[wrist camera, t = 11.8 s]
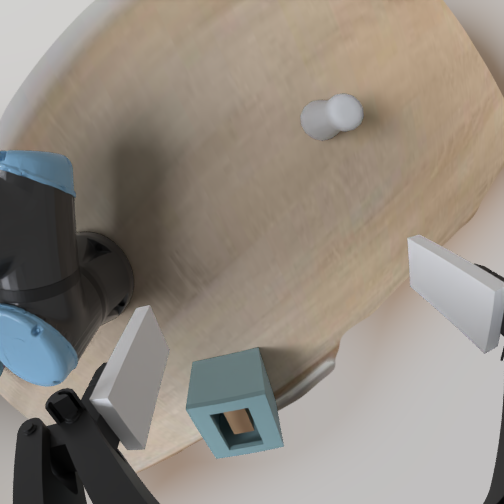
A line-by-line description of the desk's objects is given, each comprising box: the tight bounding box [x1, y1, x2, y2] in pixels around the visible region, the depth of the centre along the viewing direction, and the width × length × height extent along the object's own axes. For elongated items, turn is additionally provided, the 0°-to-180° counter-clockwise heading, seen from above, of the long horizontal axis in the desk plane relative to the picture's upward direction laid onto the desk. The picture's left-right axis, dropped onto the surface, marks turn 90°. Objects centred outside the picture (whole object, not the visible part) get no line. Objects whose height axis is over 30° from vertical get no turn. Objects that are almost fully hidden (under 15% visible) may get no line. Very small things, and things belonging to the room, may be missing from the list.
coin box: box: [186, 347, 284, 458], centre depth 49 cm, size 12×14×12 cm
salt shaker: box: [301, 94, 364, 141], centre depth 36 cm, size 6×6×13 cm
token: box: [223, 408, 254, 434], centre depth 50 cm, size 4×7×9 cm, turn 14°
